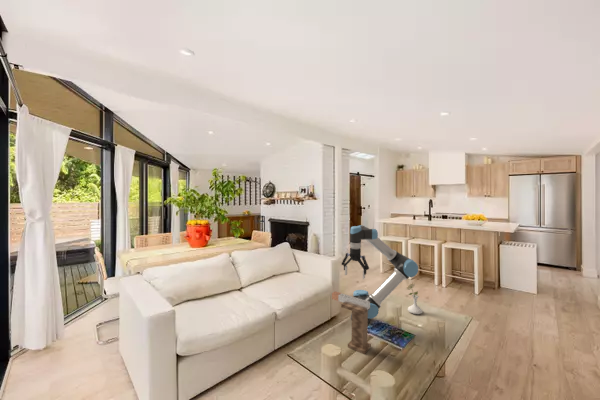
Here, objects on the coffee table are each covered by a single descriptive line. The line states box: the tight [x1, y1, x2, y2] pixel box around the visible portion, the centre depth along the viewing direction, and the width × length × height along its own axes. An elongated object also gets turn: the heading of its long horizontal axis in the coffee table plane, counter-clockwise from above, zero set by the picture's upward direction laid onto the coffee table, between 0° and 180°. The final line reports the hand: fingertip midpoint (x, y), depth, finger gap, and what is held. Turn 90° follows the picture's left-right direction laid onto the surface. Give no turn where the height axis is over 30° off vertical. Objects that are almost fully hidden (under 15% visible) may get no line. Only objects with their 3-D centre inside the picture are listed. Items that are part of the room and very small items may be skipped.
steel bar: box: [331, 290, 370, 310], centre depth 180 cm, size 26×4×4 cm, turn 52°
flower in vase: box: [406, 282, 423, 315], centre depth 222 cm, size 13×11×25 cm
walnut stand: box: [340, 302, 372, 355], centre depth 178 cm, size 17×10×28 cm, turn 52°
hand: (354, 276), depth 195 cm, fingers open, 13 cm apart
